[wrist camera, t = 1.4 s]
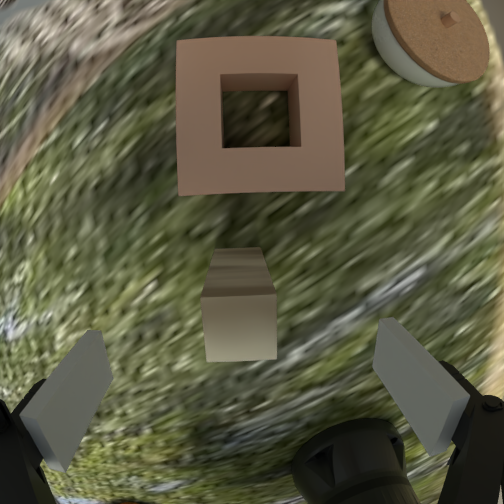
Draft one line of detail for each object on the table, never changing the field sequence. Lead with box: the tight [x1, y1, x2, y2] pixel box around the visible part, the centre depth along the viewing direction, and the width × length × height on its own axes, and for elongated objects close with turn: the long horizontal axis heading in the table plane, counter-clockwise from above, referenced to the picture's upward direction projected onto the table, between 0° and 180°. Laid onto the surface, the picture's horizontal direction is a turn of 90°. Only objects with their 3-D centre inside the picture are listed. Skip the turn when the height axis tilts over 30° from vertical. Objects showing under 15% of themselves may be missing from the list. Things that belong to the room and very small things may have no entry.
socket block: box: [176, 36, 345, 196], centre depth 24 cm, size 12×12×5 cm
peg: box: [200, 247, 277, 362], centre depth 23 cm, size 4×4×12 cm
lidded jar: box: [372, 0, 490, 88], centre depth 20 cm, size 11×11×9 cm
